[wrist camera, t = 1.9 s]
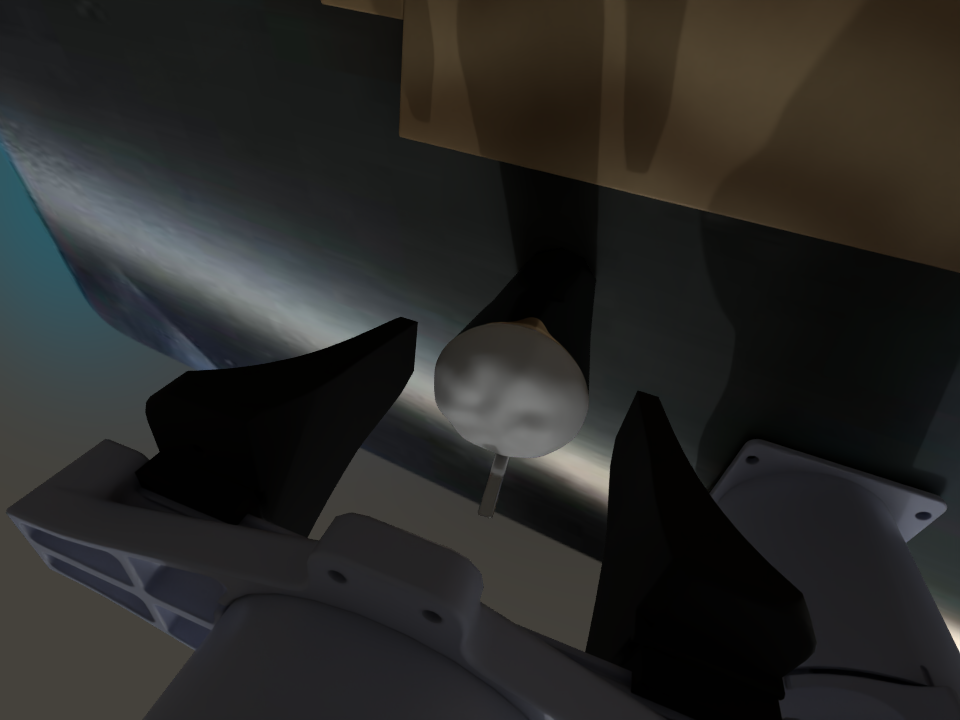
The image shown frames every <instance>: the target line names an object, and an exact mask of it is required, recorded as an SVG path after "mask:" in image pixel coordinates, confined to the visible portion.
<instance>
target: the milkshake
mask: <svg viewBox="0 0 960 720" xmlns="http://www.w3.org/2000/svg"><path fill="white" fill-rule="evenodd" d="M595 286H596V278H595V277H594V275H593V273H592V271H591V269H590V268H589V266H588V264H587V262H586V260H585V258H583V257H581V256H579V255H577V254H575V253H573V252H571V251H568V250H566V249H564V248H562V247H560V248H555V249H549V250H542V251H537V252H536V253H535V254H534V255H533V257H532V258H531V259H530V260H529V261H528V262H527V263H526V264H525V265H524V266H523V267H522V268H521V269H520V270H519V271H518V272H517V274H516V275H515V276H514V277H513V278H512V279H511V280H510V282H509V283H508V284H507V285H506V286H505V287H504V288H503V290H502V291H501V292H500V293H499V294H498V295H497V296H496V298H495V299H494V300H493V301H492V302H491V303H490V304H488V305H487V306H486V307H485V308H484V309H483V310H482V311H481V312H480V313H479V314H478V315H477V316H476V317H475V318H474V319H473V320H472V321H471V322H470V323H469V324H468V325H467V326H466V327H465V328H464V329H463V330H462V331H461V332H460V333H459V334H458V335H457V336H456V337H455V338H454V339H453V340H452V341H450V342H449V343H448V344H447V346H446V347H445V348H444V349H443V351H442V352H441V354H440V356H439V358H438V360H437V363H436V367H435V375H434V392H435V400H436V403H437V406H438V408H439V409H440V411H441V412H442V413H443V415H444V416H445V417H446V418H447V419H448V420H449V421H450V423H451V424H452V425H453V427H454V428H455V429H456V431H457V432H458V433H459V434H460V435H461V436H462V437H463V438H464V439H466V440H467V441H469V442H471V443H473V444H475V445H477V446H479V447H482V448H484V449H486V450H489V451H491V452H493V453H495V456H494V459H493V463H492V466H491V469H490V473H489V476H488V479H487V483H486V486H485V489H484V493H483V496H482V499H481V503H480V506H479V510H478V514H479V515H481V516H484V517H488V518H492V517H493V514H494V511H495V508H496V504H497V500H498V497H499V493H500V490H501V486H502V483H503V479H504V476H505V472H506V469H507V465H508V462H509V458H510V457H521V458H536V457H541V456H544V455H547V454H549V453H551V452H553V451H556V450H558V449H559V448H561V447H563V446H564V445H566V444H567V443H569V442H570V441H571V440H572V439H573V438H574V437H575V436H576V435H577V434H578V432H579V431H580V429H581V427H582V425H583V423H584V420H585V418H586V415H587V411H588V405H589V375H590V341H591V328H592V317H593V306H594V296H595Z"/></svg>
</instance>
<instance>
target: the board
mask: <svg viewBox="0 0 960 720" xmlns="http://www.w3.org/2000/svg"><path fill="white" fill-rule="evenodd" d="M321 3H323V4H325V5H331V6H336V7H341V8H346V9H351V10H356V11H361V12H366V13H371V14H376V15H381V16H386V17H391V18H396V19H402V20H404V23H403V48H402V72H401V96H400V120H399V136H400V137H403V138H407V139H411V140H415V141H420V142H424V143H428V144H432V145H436V146H440V147H444V148H448V149H452V150H457V151H461V152H465V153H469V154H473V155H477V156H481V157H485V158H489V159H494V160H498V161H502V162H506V163H510V164H514V165H518V166H522V167H526V168H531V169H535V170H539V171H543V172H547V173H551V174H555V175H559V176H563V177H568V178H572V179H576V180H580V181H584V182H588V183H592V184H596V185H600V186H605V187H609V188H613V189H617V190H621V191H625V192H629V193H633V194H637V195H642V196H646V197H650V198H654V199H658V200H662V201H666V202H670V203H674V204H679V205H683V206H687V207H691V208H695V209H699V210H703V211H707V212H712V213H716V214H720V215H724V216H728V217H732V218H736V219H740V220H744V221H749V222H753V223H757V224H761V225H765V226H769V227H773V228H777V229H781V230H786V231H790V232H794V233H798V234H802V235H806V236H810V237H814V238H818V239H823V240H827V241H831V242H835V243H839V244H843V245H847V246H851V247H855V248H860V249H864V250H868V251H872V252H876V253H880V254H884V255H888V256H892V257H897V258H901V259H905V260H909V261H913V262H917V263H921V264H925V265H929V266H934V267H938V268H942V269H946V270H950V271H954V272H958V273H960V0H321Z"/></svg>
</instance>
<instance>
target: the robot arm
mask: <svg viewBox="0 0 960 720" xmlns="http://www.w3.org/2000/svg"><path fill="white" fill-rule="evenodd" d="M417 325H418V322H416V321H413V320H410V319H407V318H403V317H399V318H396V319H394V320H392V321H389V322H387V323H385V324H383V325H380V326H378V327H376V328H374V329H372V330H369V331H367V332H365V333H363V334H360V335H358V336H356V337H353V338H351V339H348V340H346V341H343V342H341V343H338V344H335V345H333V346H330V347H328V348H325V349H322V350H319V351H316V352H312V353H309V354H305V355H302V356H298V357H294V358H290V359H285V360H280V361H275V362H271V363H266V364H260V365H253V366H247V367H238V368H229V369H216V370H199V371H187V372H185V373H184V374H182V375H181V376H180V377H178V378H176V379H175V380H174V381H172V382H171V383H169V384H168V385H166V386H165V387H163V388H162V389H161V390H159V391H158V392H156V393H155V394H153V395H152V396H150V398H149V399H148V400H147V402H146V416H147V420H148V423H149V426H150V428H151V431H152V433H153V436H154V438H155V441H156V443H157V446H158V448H159V451H160V452H159V453H158V454H157V455H155V456H154V457H153V458H152V459H151V460H149V459H148V458H147V457H146V456H145V455H143V454H142V453H140V452H138V451H136V450H134V449H131V448H129V447H126V446H124V445H121V444H119V443H116V442H114V441H111V440H107V439H105V440H103V441H102V442H100V443H99V444H98V445H96V446H95V447H94V448H92V449H91V450H89V451H88V452H87V453H85V454H84V455H82V456H81V457H79V458H78V459H77V460H75V461H74V462H72V463H71V464H70V465H68V466H67V467H65V468H64V469H63V470H61V471H60V472H58V473H57V474H55V475H54V476H53V477H51V478H50V479H49V480H47V481H46V482H44V483H43V484H41V485H40V486H39V487H37V488H36V489H34V490H33V491H32V492H30V493H29V494H27V495H26V496H25V497H23V498H22V499H20V500H19V501H17V502H16V503H15V504H13V505H12V506H10V507H9V508H8V509H7V512H6V513H7V515H8V516H9V517H10V519H11V520H12V521H13V523H14V524H15V525H16V526H17V528H18V529H19V530H20V532H21V533H22V534H23V535H24V537H25V538H26V539H27V540H28V542H29V543H30V544H31V546H32V547H33V548H34V549H35V551H36V552H37V553H38V555H39V556H40V557H41V558H42V560H43V561H44V562H45V564H46V565H47V566H48V567H49V568H50V569H51V570H53V571H55V572H57V573H60V574H61V575H63V576H65V577H68V578H70V579H72V580H74V581H76V582H78V583H80V584H82V585H83V586H85V587H87V588H89V589H91V590H93V591H95V592H97V593H99V594H100V595H102V596H104V597H106V598H107V599H109V600H111V601H113V602H114V603H116V604H118V605H119V606H121V607H123V608H125V609H126V610H128V611H130V612H131V613H133V614H135V615H136V616H138V617H140V618H141V619H143V620H145V621H147V622H148V623H150V624H151V625H153V626H155V627H157V628H158V629H160V630H162V631H163V632H165V633H166V634H168V635H170V636H171V637H173V638H175V639H176V640H178V641H180V642H181V643H183V644H185V645H186V646H188V647H190V648H191V649H193V650H195V652H194V653H193V655H192V656H191V657H190V658H189V660H188V661H187V663H186V664H185V665H184V666H183V668H182V669H181V670H180V671H179V673H178V674H177V675H176V677H175V678H174V679H173V681H172V682H171V683H170V685H169V686H168V687H167V688H166V690H165V691H164V692H163V694H162V695H161V696H160V698H159V699H158V700H157V701H156V703H155V704H154V705H153V707H152V708H151V709H150V711H149V712H148V713H147V715H146V716H145V717H144V719H143V720H960V652H959V650H958V648H957V646H956V644H955V642H954V640H953V638H952V636H951V634H950V632H949V630H948V628H947V626H946V624H945V622H944V620H943V618H942V616H941V614H940V612H939V610H938V607H937V605H936V603H935V601H934V599H933V597H932V595H931V593H930V591H929V589H928V587H927V585H926V583H925V581H924V579H923V577H922V575H921V573H920V571H919V569H918V567H917V565H916V563H915V561H914V559H913V557H912V555H911V553H910V551H909V549H908V546H907V544H906V542H908V541H909V540H910V539H911V538H913V537H914V536H915V535H916V534H918V533H919V532H920V531H921V530H923V529H924V528H925V527H926V526H928V525H929V524H930V523H931V522H933V521H934V520H935V519H936V518H938V517H939V516H940V515H941V514H943V513H944V512H945V511H946V510H947V505H946V503H945V502H944V500H943V499H942V498H941V497H940V496H938V495H935V494H932V493H929V492H926V491H923V490H920V489H916V488H913V487H910V486H907V485H904V484H901V483H897V482H894V481H891V480H888V479H885V478H882V477H878V476H875V475H872V474H869V473H866V472H863V471H860V470H856V469H853V468H850V467H847V466H844V465H841V464H837V463H834V462H831V461H828V460H825V459H822V458H818V457H815V456H812V455H809V454H806V453H803V452H800V451H796V450H793V449H790V448H787V447H784V446H781V445H777V444H774V443H771V442H768V441H765V440H761V439H752V440H749V441H747V442H746V443H745V444H744V446H743V447H742V449H741V450H740V451H739V453H738V454H737V455H736V457H735V458H734V460H733V461H732V462H731V464H730V465H729V467H728V468H727V469H726V471H725V472H724V474H723V475H722V476H721V478H720V479H719V481H718V482H717V483H716V485H715V486H714V488H713V489H712V490H711V492H710V493H709V492H708V491H707V490H706V488H705V487H704V485H703V484H702V482H701V481H700V479H699V478H698V476H697V475H696V473H695V471H694V470H693V468H692V466H691V464H690V463H689V461H688V459H687V457H686V456H685V454H684V452H683V450H682V448H681V446H680V444H679V442H678V440H677V438H676V436H675V434H674V431H673V429H672V427H671V425H670V422H669V420H668V418H667V416H666V413H665V411H664V409H663V406H662V404H661V401H660V399H659V397H657V396H654V395H651V394H647V393H644V392H641V391H637V393H636V395H635V398H634V400H633V402H632V404H631V406H630V408H629V410H628V413H627V415H626V417H625V419H624V421H623V423H622V425H621V427H620V430H619V432H618V434H617V436H616V439H615V444H614V449H613V454H612V459H611V465H610V479H609V497H608V517H607V533H606V543H605V549H604V555H603V561H602V567H601V573H600V579H599V584H598V590H597V596H596V602H595V606H594V612H593V617H592V621H591V627H590V632H589V637H588V641H587V646H586V651H585V652H583V651H581V650H578V649H576V648H573V647H571V646H568V645H566V644H564V643H561V642H559V641H556V640H554V639H552V638H549V637H547V636H544V635H541V634H539V633H537V632H534V631H532V630H530V629H527V628H525V627H522V626H520V625H517V624H515V623H513V622H512V621H510V620H509V619H507V618H506V617H504V616H502V615H501V614H499V613H498V612H496V611H494V610H493V609H491V608H490V607H488V606H487V605H485V604H483V603H482V602H480V597H481V594H482V591H483V588H484V586H483V580H482V574H481V573H480V571H479V570H478V569H477V568H476V567H475V566H474V564H473V563H472V562H471V561H470V560H469V559H468V558H467V557H465V556H463V555H461V554H460V553H458V552H456V551H454V550H453V549H451V548H448V547H445V546H443V545H441V544H438V543H436V542H433V541H430V540H428V539H425V538H423V537H420V536H418V535H415V534H413V533H410V532H408V531H405V530H403V529H400V528H397V527H395V526H392V525H389V524H387V523H385V522H382V521H380V520H377V519H374V518H372V517H370V516H365V515H361V514H356V513H347V514H343V515H340V516H336V517H335V519H334V520H333V522H332V523H331V525H330V526H329V527H328V529H327V530H326V532H325V533H324V535H323V536H322V538H321V539H320V540H319V541H318V540H313V539H308V536H309V534H310V532H311V530H312V528H313V526H314V524H315V522H316V520H317V519H318V517H319V515H320V513H321V511H322V510H323V508H324V506H325V504H326V502H327V500H328V499H329V497H330V495H331V493H332V492H333V490H334V488H335V487H336V485H337V483H338V481H339V480H340V478H341V476H342V474H343V473H344V471H345V470H346V468H347V466H348V465H349V463H350V462H351V460H352V458H353V457H354V455H355V453H356V452H357V450H358V449H359V448H360V446H361V445H362V443H363V442H364V440H365V439H366V438H367V437H368V435H369V434H370V433H371V432H372V430H373V429H374V428H375V426H376V425H377V424H378V423H379V421H380V420H381V419H382V418H383V416H384V415H385V414H386V412H387V411H388V410H389V409H390V407H391V406H392V405H393V403H394V402H395V401H396V400H397V398H398V397H399V396H400V394H401V393H402V391H403V389H404V387H405V386H406V384H407V382H408V380H409V379H410V377H411V375H412V373H413V371H414V362H415V350H416V338H417ZM748 456H756V457H755V458H747V457H748ZM923 511H924V512H923ZM918 512H920V513H918Z"/></svg>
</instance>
